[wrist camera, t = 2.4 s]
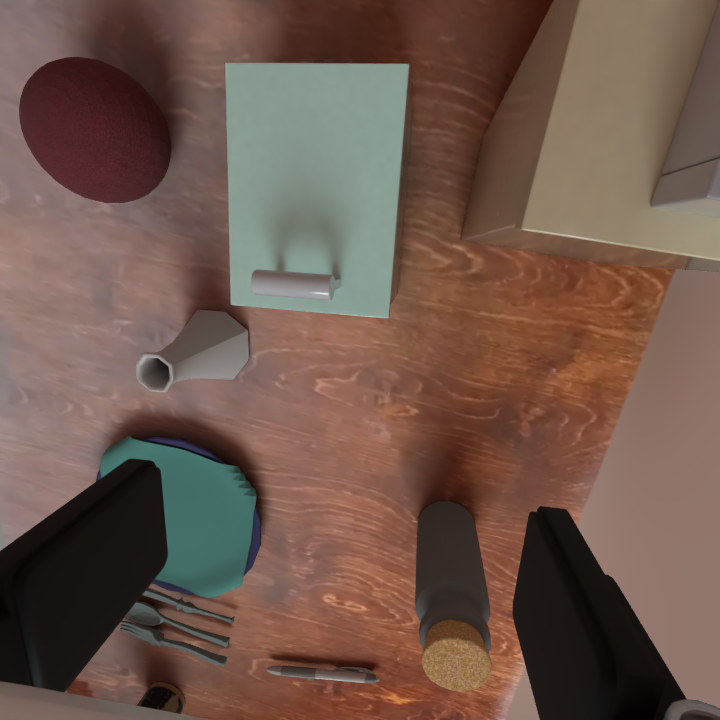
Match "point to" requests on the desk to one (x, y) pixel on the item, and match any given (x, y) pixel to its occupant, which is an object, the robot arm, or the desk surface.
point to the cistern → (609, 139)
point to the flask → (197, 352)
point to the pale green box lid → (314, 184)
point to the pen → (326, 673)
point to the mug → (163, 698)
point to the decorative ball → (95, 130)
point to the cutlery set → (194, 533)
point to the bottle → (452, 598)
